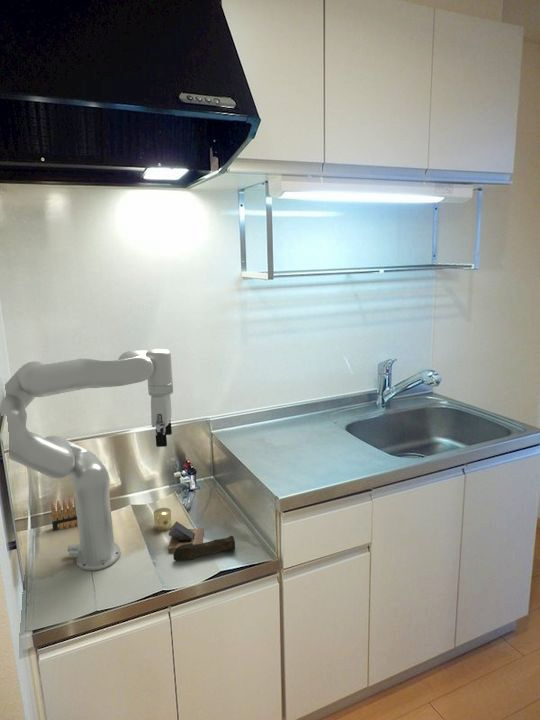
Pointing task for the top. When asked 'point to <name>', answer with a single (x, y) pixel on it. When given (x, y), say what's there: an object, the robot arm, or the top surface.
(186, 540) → the square bit
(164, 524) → the olive gold rounded cube
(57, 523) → the ammunition clip
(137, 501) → the top surface
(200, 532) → the bore block
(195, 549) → the dark brown log
